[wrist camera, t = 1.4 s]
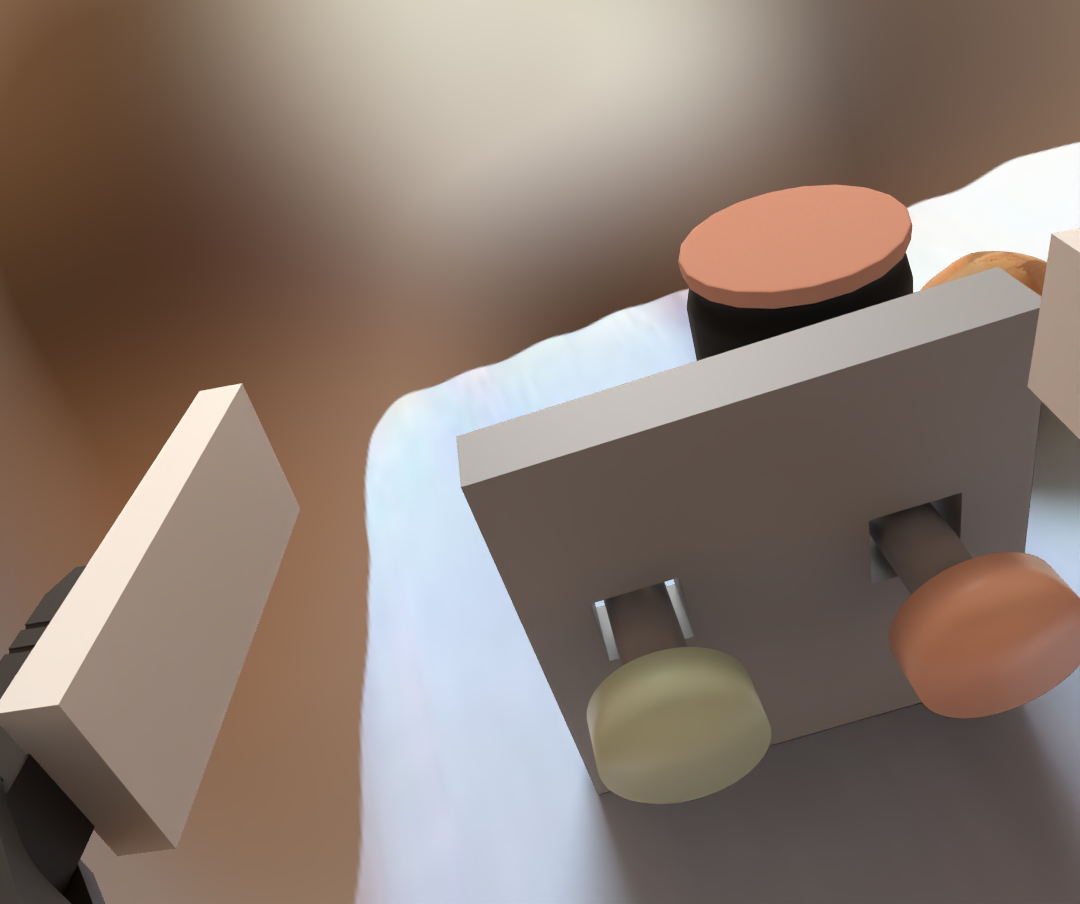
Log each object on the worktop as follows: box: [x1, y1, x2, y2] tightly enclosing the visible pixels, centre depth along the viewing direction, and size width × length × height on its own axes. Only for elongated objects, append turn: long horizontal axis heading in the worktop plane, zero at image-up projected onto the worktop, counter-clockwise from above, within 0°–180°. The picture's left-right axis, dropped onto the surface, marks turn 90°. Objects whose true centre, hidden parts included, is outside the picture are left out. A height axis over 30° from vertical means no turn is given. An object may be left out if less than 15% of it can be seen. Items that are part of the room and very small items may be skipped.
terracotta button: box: [869, 502, 1080, 718], centre depth 31 cm, size 8×6×6 cm
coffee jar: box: [678, 185, 913, 361], centre depth 45 cm, size 11×11×18 cm
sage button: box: [587, 582, 771, 804], centre depth 31 cm, size 8×6×6 cm
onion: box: [921, 251, 1047, 403], centre depth 50 cm, size 10×10×10 cm
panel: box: [456, 267, 1042, 795], centre depth 34 cm, size 3×20×20 cm, turn 98°
